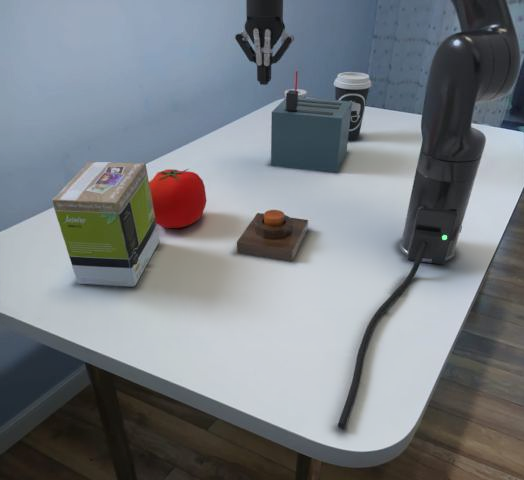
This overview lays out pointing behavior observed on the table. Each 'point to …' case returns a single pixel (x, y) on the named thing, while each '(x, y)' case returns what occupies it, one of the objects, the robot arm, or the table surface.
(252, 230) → the block
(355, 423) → the table surface
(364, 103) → the coffee cup
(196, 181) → the tomato
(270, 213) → the button
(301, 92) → the beverage cup
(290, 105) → the slider
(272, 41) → the robot arm
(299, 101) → the toaster
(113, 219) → the tea box
